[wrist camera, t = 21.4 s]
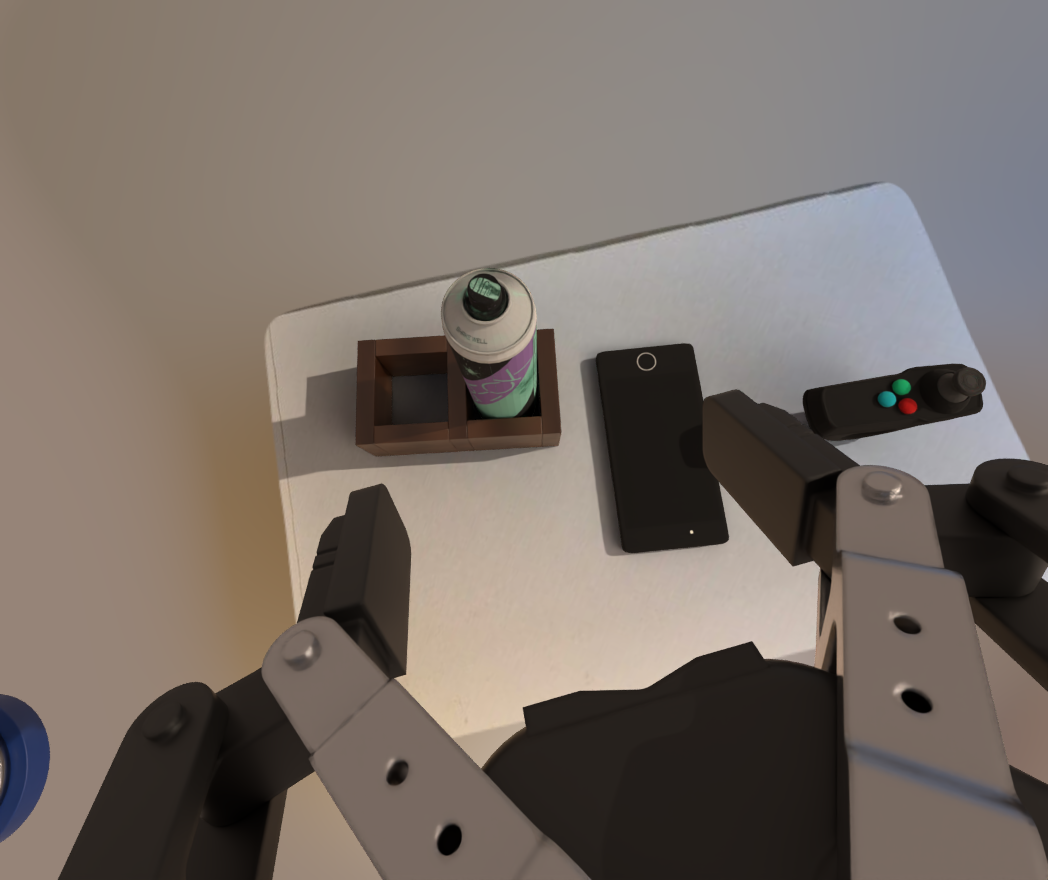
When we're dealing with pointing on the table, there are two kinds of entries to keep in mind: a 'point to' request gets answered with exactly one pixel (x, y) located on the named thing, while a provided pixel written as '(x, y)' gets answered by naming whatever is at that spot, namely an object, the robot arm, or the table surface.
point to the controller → (894, 401)
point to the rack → (461, 429)
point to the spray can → (494, 341)
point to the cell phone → (659, 449)
